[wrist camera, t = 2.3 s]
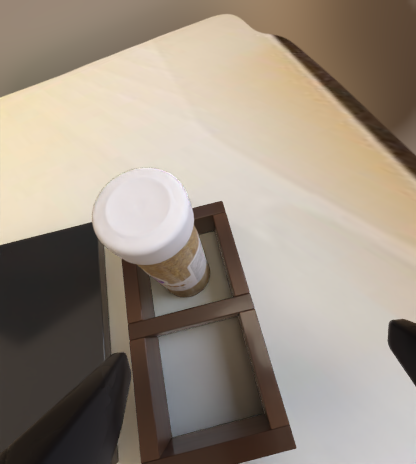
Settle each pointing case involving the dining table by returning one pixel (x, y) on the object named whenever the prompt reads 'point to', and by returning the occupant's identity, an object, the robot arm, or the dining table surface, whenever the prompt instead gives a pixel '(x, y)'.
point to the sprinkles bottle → (153, 228)
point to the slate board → (49, 323)
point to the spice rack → (151, 374)
